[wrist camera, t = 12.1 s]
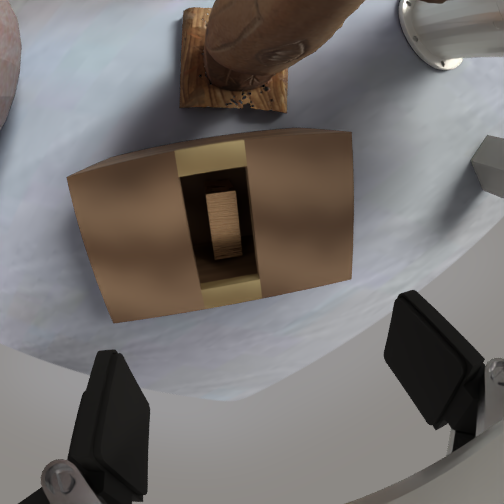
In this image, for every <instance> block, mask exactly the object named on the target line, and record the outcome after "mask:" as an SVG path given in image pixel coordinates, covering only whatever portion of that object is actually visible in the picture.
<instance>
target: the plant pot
mask: <svg viewBox="0 0 504 504" xmlns="http://www.w3.org/2000/svg"><path fill="white" fill-rule="evenodd" d="M20 61H21V39H20V32H19V24H18V20H17V17H16V15H15V13H14V11H13V9H12V7H11V5H10V3H9V1H8V0H0V130H1V128H2V126H3V124H4V123H5V121H6V118H7V115H8V112H9V109H10V107H11V104H12V101H13V99H14V96H15V91H16V86H17V82H18V77H19V73H20Z"/></svg>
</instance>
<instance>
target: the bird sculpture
mask: <svg viewBox="0 0 504 504" xmlns="http://www.w3.org/2000/svg"><path fill="white" fill-rule="evenodd" d="M364 1H365V0H216V1H215V3H214V5H213V8H200V7H199V8H195V7H194V8H188V9H186V10H184V12H183V24H182V44H181V45H182V50H181V74H180V108H189V107H203V108H205V107H207V106H209V107H215V108H216V107H219V108H220V107H222V108H223V107H224V108H234V107H235V108H242V109H243V104H247V103H250V101H252V104H250V105H251V106H252V105H254V107H250V108H255V109H260V110H266V111H268V110H271V109H272V110H273V111H277V112H284V113H287V88H288V87H287V86H288V82H287V81H288V68H289V67H290V66H292V65H294V64H295V63H297V62H298V61H300V60H302V59H303V58H305V57H307V56H308V55H310V54H312V53H314V52H316V50H317V49H318V48H320V47H321V46H322V45H323V44H324V43H326V42H327V41H328V40H329V39H330V38H331V37H332V36H333V35H334V33H335V32H336V31H337V30H338V29H339V28H341V27H342V25H343V23H344V21H345V20H346V18H347V17H348V16H350V15H351V14H352V13H353V12H354V11H355V10H356V9H358V8H359V6H360V5H361V4H362V3H363V2H364ZM420 1H424V2H427V3H436V4H443V3H444V2H445V1H448V0H420ZM209 9H210V10H209ZM207 13H208V14H209V15H207ZM202 19H203V20H202ZM205 21H206V23H205ZM203 50H204V51H203ZM202 53H204V55H202ZM204 66H205V67H204ZM205 72H206V75H207V77H205ZM274 74H275V76H274ZM200 75H201V77H200ZM209 80H211V83H212V85H211V84H210V81H209ZM263 84H265V87H260V86H261V85H263ZM242 90H244V95H243V96H246V99H243V100H242V97H243V96H242V93H243V92H242ZM261 91H262V94H261V93H260V92H261ZM249 92H251V95H249V94H248V95H247V93H249ZM234 96H235V98H233V97H234ZM249 98H250V99H249ZM231 99H233V100H235V101H236V103H238V105H235V103H234V102H235V101H234V102H232V101H231ZM239 100H241V101H242V104H240V102H238V101H239ZM270 100H273V102H272V101H270ZM226 103H227V104H228V103H232V104H231V105H230V104H228V106H226ZM237 106H238V107H237Z"/></svg>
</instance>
